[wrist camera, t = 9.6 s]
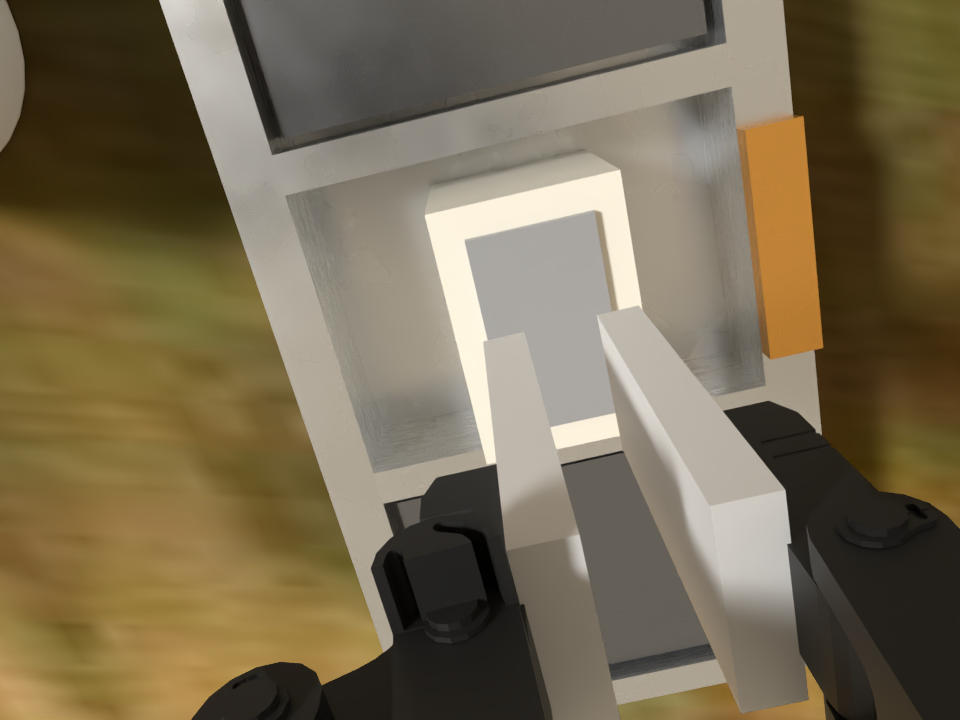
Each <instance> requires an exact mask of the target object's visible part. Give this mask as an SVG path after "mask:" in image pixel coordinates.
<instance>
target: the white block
mask: <svg viewBox="0 0 960 720" xmlns="http://www.w3.org/2000/svg"><path fill="white" fill-rule="evenodd" d="M425 219H426V223H427V227H428V231H429V235H430V239H431V243H432V247H433V251H434V255H435V259H436V263H437V267H438V271H439V275H440V279H441V283H442V287H443V291H444V295H445V299H446V303H447V307H448V311H449V315H450V319H451V323H452V327H453V331H454V335H455V339H456V343H457V347H458V351H459V355H460V359H461V363H462V367H463V371H464V375H465V379H466V383H467V387H468V391H469V395H470V399H471V403H472V407H473V411H474V415H475V419H476V423H477V427H478V431H479V435H480V439H481V443H482V447H483V451H484V455H485V459H486V463H487V464H492V463H496V455H495V446H494V437H493V427H492V418H491V409H490V400H489V391H488V381H487V372H486V363H485V354H484V345H483V341H487V340H492V339H496V338H500V337H505V336H509V335H513V334H518V333H522V332H524V333H525V336H526V340H527V344H528V347H529V351H530V355H531V358H532V362H533V366H534V369H535V373H536V377H537V380H538V384H539V388H540V391H541V395H542V399H543V402H544V406H545V410H546V413H547V417H548V421H549V425H550V428H551V432H552V436H553V439H554V443H555V447H556V450H557V449H561V448H566V447H571V446H575V445H580V444H585V443H589V442H594V441H598V440H603V439H608V438H612V437H617V436H620V434H619V429H618V423H617V418H616V413H615V408H614V402H613V397H612V392H611V387H610V381H609V376H608V371H607V365H606V360H605V355H604V350H603V344H602V339H601V334H600V329H599V323H598V318H597V315H599V314H604V313H608V312H612V311H617V310H621V309H625V308H630V307H634V306H638V305H639V306H640V308H641V309H642V303H641V297H640V291H639V284H638V278H637V272H636V265H635V259H634V253H633V246H632V240H631V234H630V228H629V221H628V215H627V209H626V202H625V196H624V190H623V184H622V177H621V171H620V169H618V168H617V167H615V166H613V165H611V164H610V163H608V162H606V161H605V160H603V159H601V158H599V157H598V156H596V155H594V154H592V153H591V152H589V151H587V150H586V149H584V150H580V151H575V152H571V153H567V154H563V155H558V156H554V157H550V158H545V159H541V160H537V161H533V162H528V163H524V164H520V165H516V166H511V167H507V168H503V169H498V170H494V171H490V172H486V173H481V174H477V175H473V176H468V177H464V178H460V179H456V180H451V181H447V182H443V183H439V184H434V185H431V186H430V191H429V196H428V201H427V206H426V211H425ZM642 310H643V309H642Z"/></svg>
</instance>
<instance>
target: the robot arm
mask: <svg viewBox="0 0 960 720" xmlns="http://www.w3.org/2000/svg"><path fill="white" fill-rule="evenodd" d="M597 318H598V323H599V329H600V334H601V339H602V344H603V350H604V355H605V360H606V365H607V371H608V376H609V381H610V387H611V392H612V397H613V402H614V408H615V413H616V418H617V423H618V429H619V434H620V439H621V444H622V449H623V451H624V454H625V456H626V458H627V460H628V462H629V465H630V467H631V469H632V471H633V474H634V476H635V478H636V480H637V483H638V485H639V487H640V489H641V491H642V494H643V496H644V498H645V500H646V503H647V505H648V507H649V509H650V512H651V514H652V516H653V518H654V520H655V523H656V525H657V527H658V529H659V532H660V534H661V536H662V538H663V541H664V543H665V545H666V547H667V549H668V552H669V554H670V556H671V558H672V561H673V563H674V565H675V567H676V570H677V572H678V574H679V576H680V578H681V581H682V583H683V585H684V587H685V590H686V592H687V594H688V596H689V599H690V601H691V603H692V605H693V607H694V610H695V612H696V614H697V616H698V619H699V621H700V623H701V625H702V628H703V630H704V632H705V634H706V636H707V639H708V641H709V643H710V645H711V648H712V650H713V652H714V654H715V657H716V659H717V661H718V663H719V665H720V668H721V670H722V672H723V674H724V677H725V679H726V681H727V683H728V686H729V688H730V690H731V692H732V694H733V697H734V699H735V701H736V703H737V706H738V708H739V710H740V712H741V714H742V713H747V712H752V711H757V710H762V709H767V708H771V707H776V706H781V705H786V704H791V703H796V702H801V701H806V700H809V698H808V689H807V680H806V671H805V663H806V665H807V667H808V668H809V670H810V672H811V673H812V675H813V677H814V678H815V680H816V682H817V683H818V685H819V687H820V688H821V690H822V692H823V694H824V704H825V714H826V720H960V529H959V528H958V527H957V526H956V525H955V524H954V523H953V521H952V520H951V519H950V518H949V517H948V516H947V515H945V514H944V513H942V512H941V511H940V510H938V509H937V508H935V507H934V506H932V505H931V504H930V503H927V502H924V501H922V500H919V499H916V498H913V497H910V496H907V495H904V494H896V493H887V492H879V491H878V490H877V489H875V488H874V487H873V486H872V485H871V484H870V483H869V482H868V481H867V480H866V479H865V478H864V477H863V476H862V475H861V474H860V473H859V472H858V471H857V470H856V469H855V468H854V467H853V466H852V465H851V464H850V463H849V462H848V461H847V460H846V459H845V458H844V457H843V456H842V455H841V454H840V453H839V452H838V451H837V450H836V449H835V448H831V446H830V443H829V442H828V441H827V440H826V439H825V438H824V437H823V436H822V435H821V434H820V433H816V430H815V428H814V427H813V426H812V425H811V424H810V423H809V422H808V421H806V420H805V419H804V418H803V417H802V416H801V415H800V414H799V413H798V412H796V411H794V410H791V409H789V408H786V407H784V406H781V405H779V404H776V403H774V402H771V401H764V402H760V403H755V404H751V405H746V406H742V407H737V408H733V409H729V410H724V411H722V409H721V408H720V407H719V406H718V404H717V403H716V402H715V401H714V399H713V398H712V397H711V396H710V394H709V393H708V392H707V391H706V389H705V388H704V387H703V386H702V384H701V383H700V382H699V381H698V379H697V378H696V377H695V376H694V374H693V373H692V372H691V371H690V369H689V368H688V367H687V365H686V364H685V363H684V362H683V360H682V359H681V358H680V357H679V355H678V354H677V353H676V352H675V350H674V349H673V348H672V347H671V345H670V344H669V343H668V342H667V340H666V339H665V338H664V337H663V335H662V334H661V333H660V332H659V330H658V329H657V328H656V326H655V325H654V324H653V323H652V321H651V320H650V319H649V318H648V316H647V315H646V314H645V313H644V311H643V310H642V309H641V308H640V306H639V305H638V306H634V307H630V308H625V309H621V310H617V311H612V312H608V313H604V314H599V315H597ZM483 345H484V354H485V363H486V372H487V381H488V391H489V400H490V409H491V418H492V427H493V437H494V446H495V455H496V464H495V465H490V466H486V467H481V468H477V469H472V470H468V471H463V472H459V473H454V474H450V475H445V476H441V477H437V478H436V479H435V480H434V481H433V483H432V484H431V486H430V487H429V488H428V490H427V491H426V493H425V494H424V495H423V497H422V498H421V506H420V519H419V520H420V522H419V523H416V524H413V525H411V526H409V527H407V528H406V529H404V530H402V531H401V532H399V533H398V534H396V535H394V536H393V537H391V538H390V539H389V540H388V541H387V542H386V543H385V544H384V545H383V546H382V548H381V549H380V550H379V551H378V552H377V553H376V555H375V558H374V561H373V564H372V566H371V571H372V574H373V577H374V580H375V583H376V586H377V589H378V592H379V595H380V598H381V601H382V604H383V607H384V610H385V613H386V616H387V619H388V622H389V625H390V628H391V631H392V634H393V645H392V646H391V647H390V648H389V649H387V650H386V651H385V652H384V653H382V654H381V655H380V656H378V657H377V658H376V659H374V660H373V661H371V662H369V663H367V664H365V665H364V666H362V667H360V668H358V669H356V670H354V671H352V672H350V673H348V674H346V675H343V676H341V677H339V678H337V679H335V680H333V681H330V682H328V683H326V684H324V685H322V686H321V683H320V681H319V679H318V676H317V674H316V672H314V671H313V670H311V669H309V668H308V667H306V666H304V665H303V664H300V663H287V662H278V663H274V664H269V665H265V666H261V667H256V668H254V669H252V670H250V671H248V672H246V673H244V674H242V675H240V676H238V677H236V678H234V679H232V680H230V681H229V682H228V683H226V684H225V685H224V686H223V687H221V688H220V689H219V690H218V691H216V692H215V693H214V694H212V695H211V696H210V697H209V698H208V699H207V700H206V702H205V703H204V704H203V705H202V707H201V708H200V709H199V710H198V712H197V713H196V714H195V715H194V717H193V718H192V720H620V716H619V711H618V707H617V702H616V698H615V693H614V689H613V684H612V680H611V675H610V671H609V666H608V662H607V657H606V653H605V648H604V644H603V639H602V634H601V630H600V625H599V621H598V616H597V612H596V607H595V603H594V598H593V594H592V589H591V585H590V580H589V576H588V571H587V567H586V562H585V558H584V553H583V548H582V544H581V539H580V535H579V531H578V527H577V524H576V520H575V516H574V513H573V509H572V505H571V502H570V498H569V494H568V491H567V487H566V483H565V480H564V476H563V472H562V469H561V465H560V461H559V458H558V454H557V450H556V447H555V443H554V439H553V436H552V432H551V428H550V425H549V421H548V417H547V413H546V410H545V406H544V402H543V399H542V395H541V391H540V388H539V384H538V380H537V377H536V373H535V369H534V366H533V362H532V358H531V355H530V351H529V347H528V344H527V340H526V336H525V333H524V332H522V333H518V334H513V335H509V336H505V337H500V338H496V339H492V340H487V341H483ZM804 661H805V662H804Z"/></svg>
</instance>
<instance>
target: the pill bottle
mask: <svg viewBox="0 0 960 720" xmlns="http://www.w3.org/2000/svg"><path fill="white" fill-rule="evenodd" d="M24 93H25V61H24V56H23V51H22V46H21V42H20V37H19V32H18V29H17V27H16V24H15V22H14V19H13V16H12V14H11V11H10V9H9V6H8V4H7V1H6V0H0V152H1V151H2V150H3V148H4V147H5V146H6V144H7V143H8V142H9V140H10V138H11V136H12V134H13V131H14V129H15V127H16V125H17V122H18V120H19V118H20V114H21V109H22V103H23V98H24Z"/></svg>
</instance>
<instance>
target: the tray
mask: <svg viewBox="0 0 960 720" xmlns="http://www.w3.org/2000/svg"><path fill="white" fill-rule="evenodd" d="M159 1H160V4H161V7H162V10H163V13H164V16H165V19H166V21H167V24H168V27H169V30H170V33H171V36H172V39H173V42H174V45H175V48H176V51H177V53H178V56H179V59H180V62H181V65H182V68H183V71H184V74H185V77H186V80H187V82H188V85H189V88H190V91H191V94H192V97H193V100H194V103H195V106H196V109H197V112H198V114H199V117H200V120H201V123H202V126H203V129H204V132H205V135H206V138H207V141H208V143H209V146H210V149H211V152H212V155H213V158H214V161H215V164H216V167H217V170H218V173H219V175H220V178H221V181H222V184H223V187H224V190H225V193H226V196H227V199H228V202H229V204H230V207H231V210H232V213H233V216H234V219H235V222H236V225H237V228H238V231H239V234H240V236H241V239H242V242H243V245H244V248H245V251H246V254H247V257H248V260H249V263H250V265H251V268H252V271H253V274H254V277H255V280H256V283H257V286H258V289H259V292H260V295H261V297H262V300H263V303H264V306H265V309H266V312H267V315H268V318H269V321H270V324H271V326H272V329H273V332H274V335H275V338H276V341H277V344H278V347H279V350H280V353H281V356H282V358H283V361H284V364H285V367H286V370H287V373H288V376H289V379H290V382H291V385H292V387H293V390H294V393H295V396H296V399H297V402H298V405H299V408H300V411H301V414H302V417H303V419H304V422H305V425H306V428H307V431H308V434H309V437H310V440H311V443H312V446H313V448H314V451H315V454H316V457H317V460H318V463H319V466H320V469H321V472H322V475H323V478H324V480H325V483H326V486H327V489H328V492H329V495H330V498H331V501H332V504H333V507H334V509H335V512H336V515H337V518H338V521H339V524H340V527H341V530H342V533H343V536H344V539H345V541H346V544H347V547H348V550H349V553H350V556H351V559H352V562H353V565H354V568H355V570H356V573H357V576H358V579H359V582H360V585H361V588H362V591H363V594H364V597H365V600H366V602H367V605H368V608H369V611H370V614H371V617H372V620H373V623H374V626H375V629H376V631H377V634H378V637H379V640H380V643H381V646H382V649H383V652H385V651H386V650H387V649H389V648H390V647H391V646H392V645H393V634H392V631H391V628H390V625H389V622H388V619H387V616H386V613H385V610H384V607H383V604H382V601H381V598H380V595H379V592H378V589H377V586H376V583H375V580H374V577H373V574H372V571H371V566H372V564H373V561H374V558H375V555H376V553H377V552H378V551H379V550H380V549H381V548H382V546H383V545H384V544H385V543H386V542H387V541H388V540H389V539H390V538H391V537H393V536H394V535H396V534H398V533H399V532H401V531H402V530H404V529H406V528H407V527H409V526H411V525H413V524H416V523H419V522H420V520H419V519H420V506H421V498H422V497H423V495H424V494H425V493H426V491H427V490H428V488H429V487H430V486H431V484H432V483H433V481H434V480H435V479H436V478H437V477H441V476H445V475H450V474H454V473H459V472H463V471H468V470H472V469H477V468H481V467H486V466H490V465H495V464H496V463H492V464H487V463H486V459H485V455H484V451H483V447H482V443H481V439H480V435H479V431H478V427H477V423H476V419H475V415H474V411H473V407H472V403H471V399H470V395H469V391H468V387H467V383H466V379H465V375H464V371H463V367H462V363H461V359H460V355H459V351H458V347H457V343H456V339H455V335H454V331H453V327H452V323H451V319H450V315H449V311H448V307H447V303H446V299H445V295H444V291H443V287H442V283H441V279H440V275H439V271H438V267H437V263H436V259H435V255H434V251H433V247H432V243H431V239H430V235H429V231H428V227H427V223H426V219H425V211H426V206H427V201H428V196H429V191H430V186H431V185H434V184H439V183H443V182H447V181H451V180H456V179H460V178H464V177H468V176H473V175H477V174H481V173H486V172H490V171H494V170H498V169H503V168H507V167H511V166H516V165H520V164H524V163H528V162H533V161H537V160H541V159H545V158H550V157H554V156H558V155H563V154H567V153H571V152H575V151H580V150H584V149H586V150H587V151H589V152H591V153H592V154H594V155H596V156H598V157H599V158H601V159H603V160H605V161H606V162H608V163H610V164H611V165H613V166H615V167H617V168H618V169H620V171H621V177H622V184H623V190H624V196H625V202H626V209H627V215H628V221H629V228H630V234H631V240H632V246H633V253H634V259H635V265H636V272H637V278H638V284H639V291H640V297H641V303H642V309H643V311H644V313H645V314H646V315H647V316H648V318H649V319H650V320H651V321H652V323H653V324H654V325H655V326H656V328H657V329H658V330H659V332H660V333H661V334H662V335H663V337H664V338H665V339H666V340H667V342H668V343H669V344H670V345H671V347H672V348H673V349H674V350H675V352H676V353H677V354H678V355H679V357H680V358H681V359H682V360H683V362H684V363H685V364H686V365H687V367H688V368H689V369H690V371H691V372H692V373H693V374H694V376H695V377H696V378H697V379H698V381H699V382H700V383H701V384H702V386H703V387H704V388H705V389H706V391H707V392H708V393H709V394H710V396H711V397H712V398H713V399H714V401H715V402H716V403H717V404H718V406H719V407H720V408H721V409H722V411H724V410H729V409H733V408H737V407H742V406H746V405H751V404H755V403H760V402H764V401H771V402H774V403H776V404H779V405H781V406H784V407H786V408H789V409H791V410H794V411H796V412H798V413H799V414H800V415H801V416H802V417H803V418H804V419H805V420H806V421H808V422H809V423H810V424H811V425H812V426H813V427H814V428H815V430H816V433H820V434H821V435H822V430H821V419H820V408H819V397H818V386H817V375H816V364H815V352H814V350H817V349H821V348H823V339H822V327H821V316H820V304H819V292H818V281H817V269H816V257H815V245H814V234H813V222H812V210H811V199H810V187H809V175H808V163H807V152H806V140H805V128H804V117H803V116H799V115H793V107H792V96H791V85H790V74H789V63H788V52H787V40H786V29H785V18H784V7H783V0H159ZM557 454H558V458H559V461H560V465H561V469H562V472H563V476H564V480H565V483H566V487H567V491H568V494H569V498H570V502H571V505H572V509H573V513H574V516H575V520H576V524H577V527H578V531H579V535H580V539H581V544H582V548H583V553H584V558H585V562H586V567H587V571H588V576H589V580H590V585H591V589H592V594H593V598H594V603H595V607H596V612H597V616H598V621H599V625H600V630H601V634H602V639H603V644H604V648H605V653H606V657H607V662H608V666H609V671H610V675H611V680H612V684H613V689H614V693H615V698H616V702H617V705H619V704H624V703H629V702H633V701H638V700H643V699H648V698H653V697H658V696H662V695H667V694H672V693H677V692H682V691H687V690H692V689H696V688H701V687H706V686H711V685H716V684H721V683H725V682H727V681H726V679H725V677H724V674H723V672H722V670H721V668H720V665H719V663H718V661H717V659H716V657H715V654H714V652H713V650H712V648H711V645H710V643H709V641H708V639H707V636H706V634H705V632H704V630H703V628H702V625H701V623H700V621H699V619H698V616H697V614H696V612H695V610H694V607H693V605H692V603H691V601H690V599H689V596H688V594H687V592H686V590H685V587H684V585H683V583H682V581H681V578H680V576H679V574H678V572H677V570H676V567H675V565H674V563H673V561H672V558H671V556H670V554H669V552H668V549H667V547H666V545H665V543H664V541H663V538H662V536H661V534H660V532H659V529H658V527H657V525H656V523H655V520H654V518H653V516H652V514H651V512H650V509H649V507H648V505H647V503H646V500H645V498H644V496H643V494H642V491H641V489H640V487H639V485H638V483H637V480H636V478H635V476H634V474H633V471H632V469H631V467H630V465H629V462H628V460H627V458H626V456H625V454H624V451H623V449H622V444H621V439H620V436H617V437H612V438H608V439H603V440H598V441H594V442H589V443H585V444H580V445H575V446H571V447H566V448H561V449H557ZM804 662H805V661H804ZM805 666H807V665H806V663H805Z"/></svg>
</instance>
